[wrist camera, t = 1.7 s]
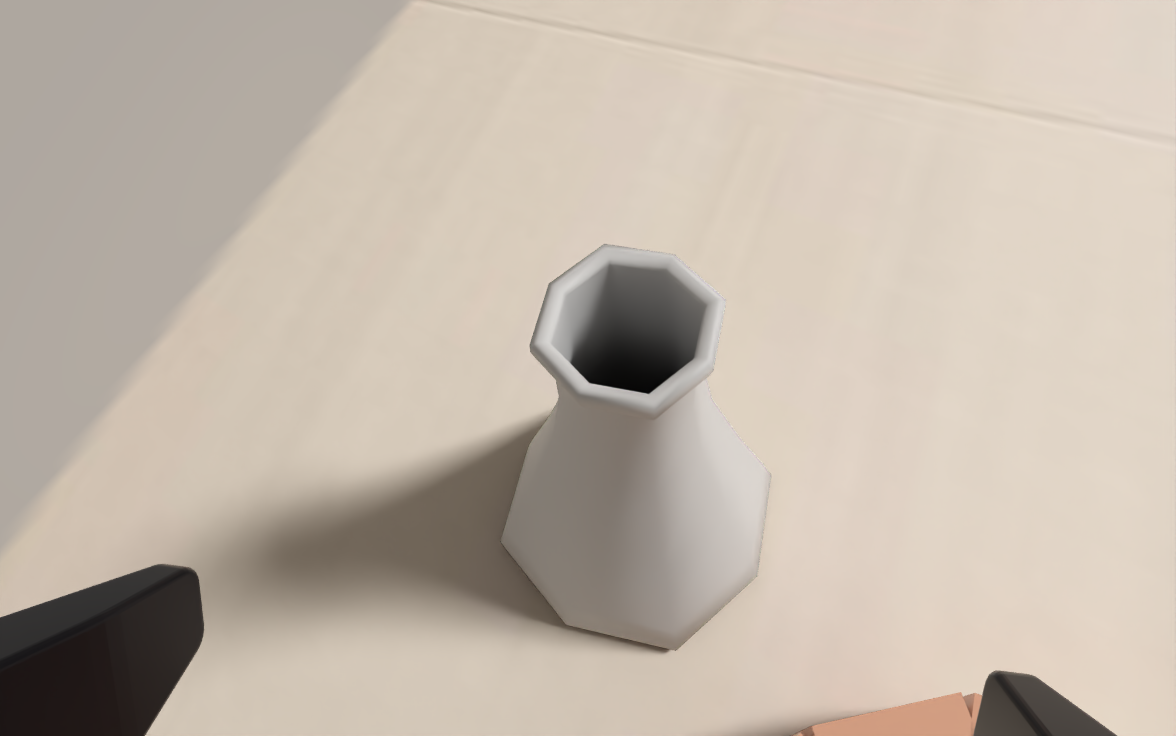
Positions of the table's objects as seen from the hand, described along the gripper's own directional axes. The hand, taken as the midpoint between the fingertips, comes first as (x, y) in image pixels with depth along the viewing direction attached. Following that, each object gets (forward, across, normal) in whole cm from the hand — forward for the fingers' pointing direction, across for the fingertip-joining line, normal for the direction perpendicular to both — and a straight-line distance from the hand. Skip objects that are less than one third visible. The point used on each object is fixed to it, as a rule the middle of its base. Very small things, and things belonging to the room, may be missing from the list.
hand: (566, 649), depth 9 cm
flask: (+12, 0, +5) cm, 13 cm away
